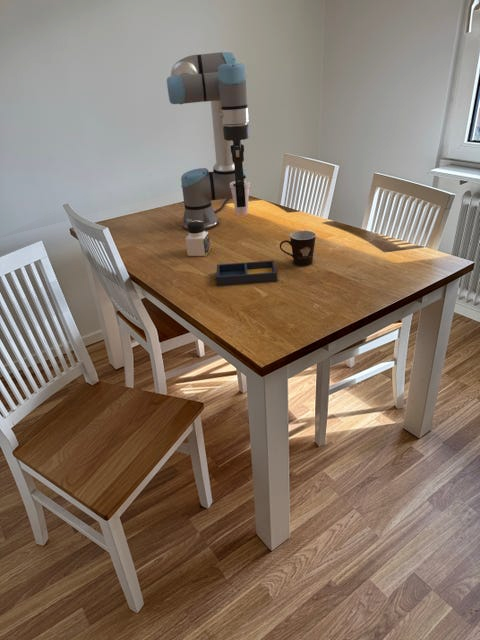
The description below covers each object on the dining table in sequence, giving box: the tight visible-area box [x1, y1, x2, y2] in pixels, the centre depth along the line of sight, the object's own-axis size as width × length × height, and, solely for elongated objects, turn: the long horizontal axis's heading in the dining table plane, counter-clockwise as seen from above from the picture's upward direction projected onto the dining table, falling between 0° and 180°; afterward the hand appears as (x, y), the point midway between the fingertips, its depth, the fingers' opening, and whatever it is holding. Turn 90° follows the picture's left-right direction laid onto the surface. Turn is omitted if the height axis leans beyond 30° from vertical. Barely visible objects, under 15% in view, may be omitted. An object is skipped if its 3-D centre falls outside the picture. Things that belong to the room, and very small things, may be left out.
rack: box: [215, 260, 278, 287], centre depth 151 cm, size 10×19×3 cm, turn 91°
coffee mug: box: [279, 230, 317, 267], centre depth 156 cm, size 12×9×10 cm
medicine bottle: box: [184, 221, 211, 257], centre depth 169 cm, size 7×7×12 cm
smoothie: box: [230, 180, 251, 216], centre depth 141 cm, size 6×6×14 cm
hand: (241, 203), depth 143 cm, fingers closed on smoothie, 6 cm apart
